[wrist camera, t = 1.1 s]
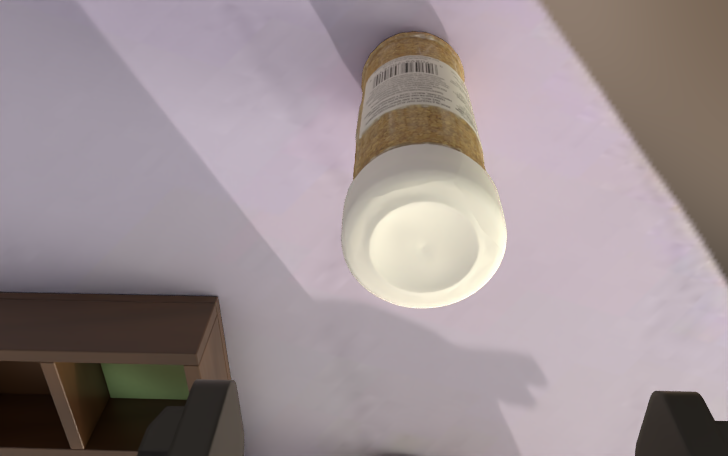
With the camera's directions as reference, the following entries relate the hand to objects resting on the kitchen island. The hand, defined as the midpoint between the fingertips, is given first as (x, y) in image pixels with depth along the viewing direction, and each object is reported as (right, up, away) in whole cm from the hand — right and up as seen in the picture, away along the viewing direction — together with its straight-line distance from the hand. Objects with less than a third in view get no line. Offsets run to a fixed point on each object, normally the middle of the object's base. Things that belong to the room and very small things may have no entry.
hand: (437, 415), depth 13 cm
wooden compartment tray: (-17, -6, +28) cm, 33 cm away
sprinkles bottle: (+1, +10, +16) cm, 19 cm away
